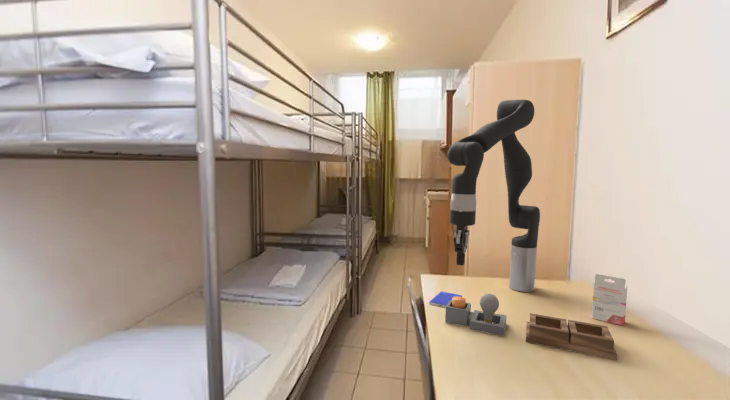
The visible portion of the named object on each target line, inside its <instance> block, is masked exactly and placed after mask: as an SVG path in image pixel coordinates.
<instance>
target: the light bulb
mask: <svg viewBox="0 0 730 400" xmlns="http://www.w3.org/2000/svg"><path fill="white" fill-rule="evenodd" d="M479 306H480V308H481V311H483V312H484V314H485V321H484V322H488V323H492V320H493V315H494V313H495V314H496V312H497V310H498V309H499V307H500V302H499V298H498V297H497V296H496V295H495V294H492V293H485V294H483V295H482V296H480V299H479Z"/></svg>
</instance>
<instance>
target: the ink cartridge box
mask: <svg viewBox="0 0 730 400" xmlns="http://www.w3.org/2000/svg"><path fill="white" fill-rule="evenodd" d="M607 280H611V281H607ZM612 281H614V282H612ZM627 299H628V285H626V279H625V278H622V277H616V276H610V275H606V274H605V275H604V274H599V273H596V274H594V282H593V290H592V305H591V318H592V319H594V320H597V321H598V320H599V321H601V322H606V323H609V324H614V325H618V326H622V327H623V326H624V323H625V321H626V315H627V314H626V312H627V311H626V309H627Z"/></svg>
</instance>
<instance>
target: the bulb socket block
mask: <svg viewBox="0 0 730 400" xmlns="http://www.w3.org/2000/svg"><path fill="white" fill-rule="evenodd" d="M471 309H472V303H471V302H466V301H465V309H462V308H456V307H452V300H450V301H449V303H448V304H447V306H446V308H445V321H444V323H448V324H452V325H457V326H462V327H469V330H471V331H476V332H482V333H485V334H486V333H487V334H491V335H496V336H501V337H504V336H505V330H506V326H507V315H506V314H500V313H496V312H495V313H494V315H493V320H492V323H488V322H485V314H484V312H483V310H478V309H474V310H473V311H471Z"/></svg>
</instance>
